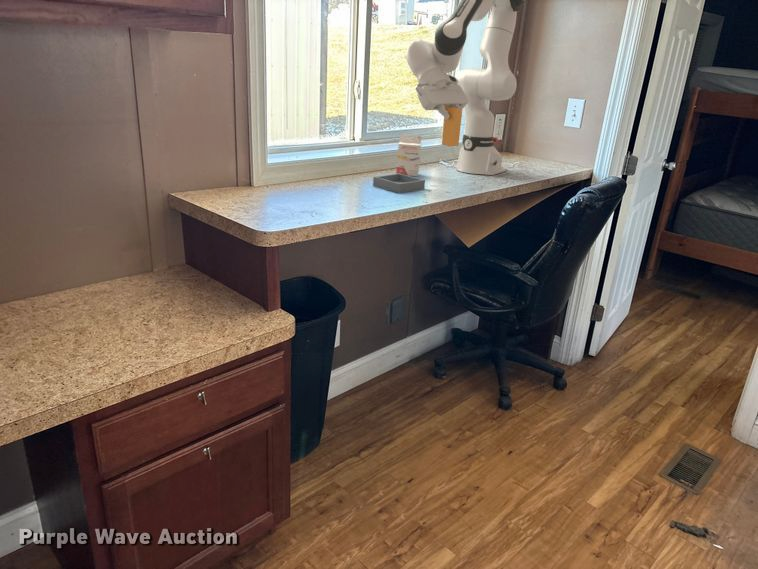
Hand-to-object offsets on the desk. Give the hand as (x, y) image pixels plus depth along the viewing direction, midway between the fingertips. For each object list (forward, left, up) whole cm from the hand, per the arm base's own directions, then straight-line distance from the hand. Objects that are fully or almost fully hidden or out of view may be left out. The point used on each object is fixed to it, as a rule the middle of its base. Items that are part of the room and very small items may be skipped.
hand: (454, 118), depth 185 cm
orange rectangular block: (0, -1, -9) cm, 9 cm away
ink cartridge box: (-7, -26, -24) cm, 36 cm away
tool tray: (+12, -12, -24) cm, 29 cm away
